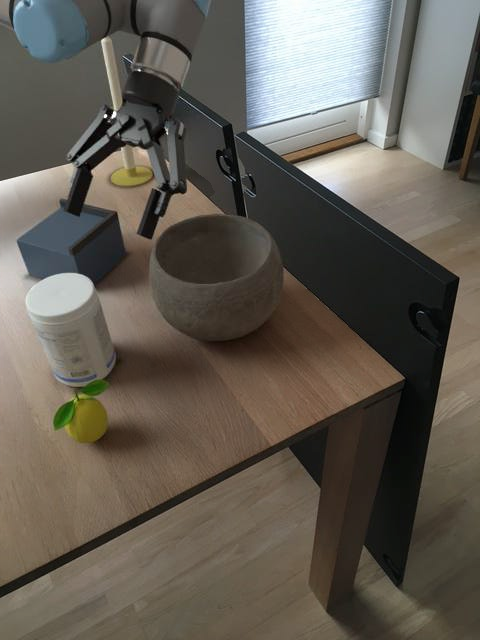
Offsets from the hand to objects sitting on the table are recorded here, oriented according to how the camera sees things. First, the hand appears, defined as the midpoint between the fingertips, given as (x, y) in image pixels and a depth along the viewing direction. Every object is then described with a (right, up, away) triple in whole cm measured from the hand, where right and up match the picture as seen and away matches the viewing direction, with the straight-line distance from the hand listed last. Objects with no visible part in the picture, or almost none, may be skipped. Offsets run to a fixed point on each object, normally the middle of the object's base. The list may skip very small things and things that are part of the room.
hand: (106, 225), depth 76 cm
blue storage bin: (-12, -3, +26) cm, 29 cm away
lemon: (-1, -29, -3) cm, 30 cm away
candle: (-7, +21, +53) cm, 57 cm away
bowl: (+16, -13, +13) cm, 25 cm away
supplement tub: (-5, -21, +6) cm, 22 cm away
